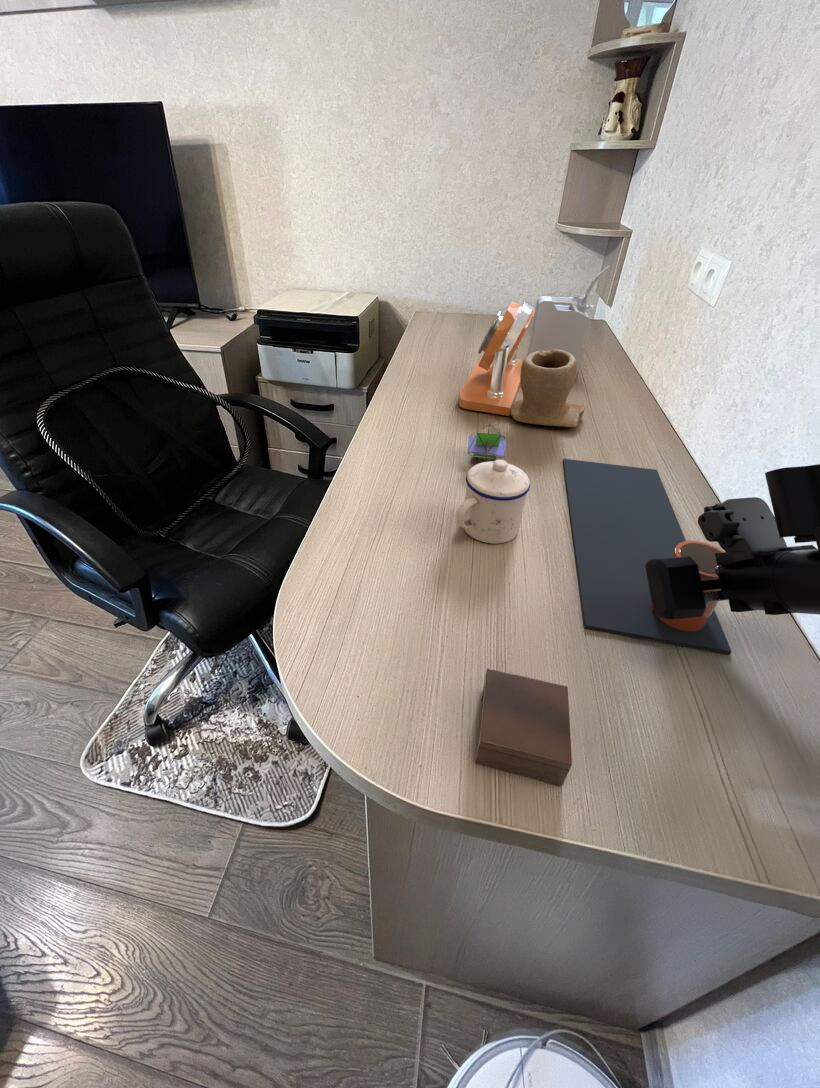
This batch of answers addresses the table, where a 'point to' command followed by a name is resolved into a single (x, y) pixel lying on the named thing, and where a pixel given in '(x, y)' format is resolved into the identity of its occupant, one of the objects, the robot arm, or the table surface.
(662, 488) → the desk mat
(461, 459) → the table surface
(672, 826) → the table surface
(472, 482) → the teacup with lid
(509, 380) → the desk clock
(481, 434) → the geometric puzzle
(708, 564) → the cup
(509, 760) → the brown square slab
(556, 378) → the stone cup
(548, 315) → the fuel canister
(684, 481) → the table surface
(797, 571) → the robot arm
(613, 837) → the table surface
